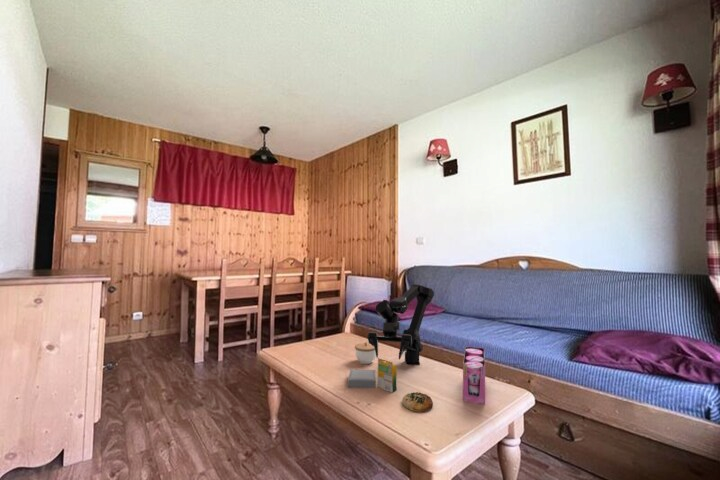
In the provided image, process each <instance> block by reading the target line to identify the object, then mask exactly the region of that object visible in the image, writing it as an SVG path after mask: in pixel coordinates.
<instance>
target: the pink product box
mask: <svg viewBox="0 0 720 480" xmlns="http://www.w3.org/2000/svg"><path fill="white" fill-rule="evenodd" d="M485 357H486V356H485V348H484V347H483V348H482V347H475V346H465V348H464V356H463V361H462V401H464V402H469V403H474V404H475V403H476V404H481V405H485V404H486V359H485Z"/></svg>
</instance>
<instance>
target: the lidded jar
mask: <svg viewBox="0 0 720 480" xmlns="http://www.w3.org/2000/svg"><path fill="white" fill-rule="evenodd" d="M354 349H355V350H354V351H355V357H356V359H357V361H359V363H360V364H363V365H369V364H372V362H373V361H374V360H375V359H376V358H377V357H376V352H375V348H374V346H372V345H371V344H369V342H360V343H357V344H355V345H354Z"/></svg>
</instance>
